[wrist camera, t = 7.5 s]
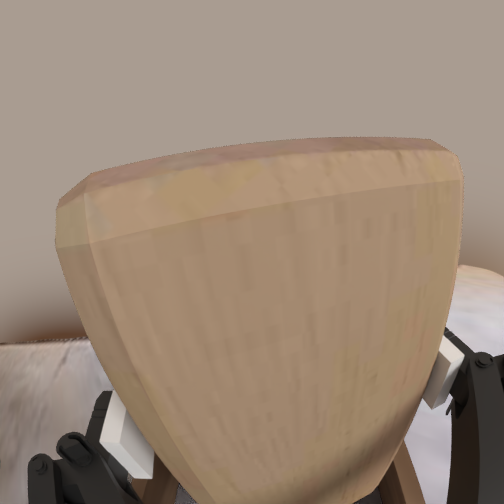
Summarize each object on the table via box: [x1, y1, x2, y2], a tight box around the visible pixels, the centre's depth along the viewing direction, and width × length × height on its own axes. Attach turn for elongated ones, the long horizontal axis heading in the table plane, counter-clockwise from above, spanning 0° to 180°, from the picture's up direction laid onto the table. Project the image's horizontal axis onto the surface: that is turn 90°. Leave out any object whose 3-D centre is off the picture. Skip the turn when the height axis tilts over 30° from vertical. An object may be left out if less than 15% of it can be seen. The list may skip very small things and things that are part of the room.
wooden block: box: [55, 137, 464, 504], centre depth 12 cm, size 10×10×20 cm
